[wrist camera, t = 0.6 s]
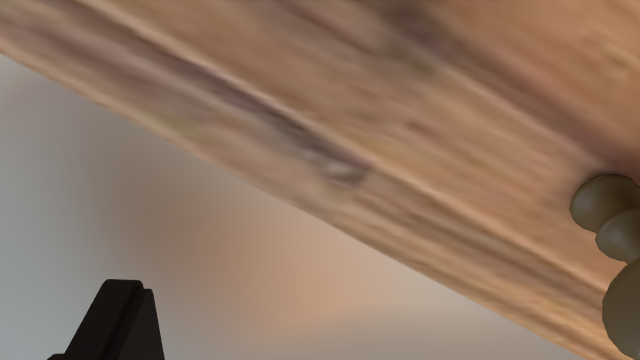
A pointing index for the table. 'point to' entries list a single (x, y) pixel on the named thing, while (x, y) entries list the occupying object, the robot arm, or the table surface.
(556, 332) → the table surface
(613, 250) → the kendama
